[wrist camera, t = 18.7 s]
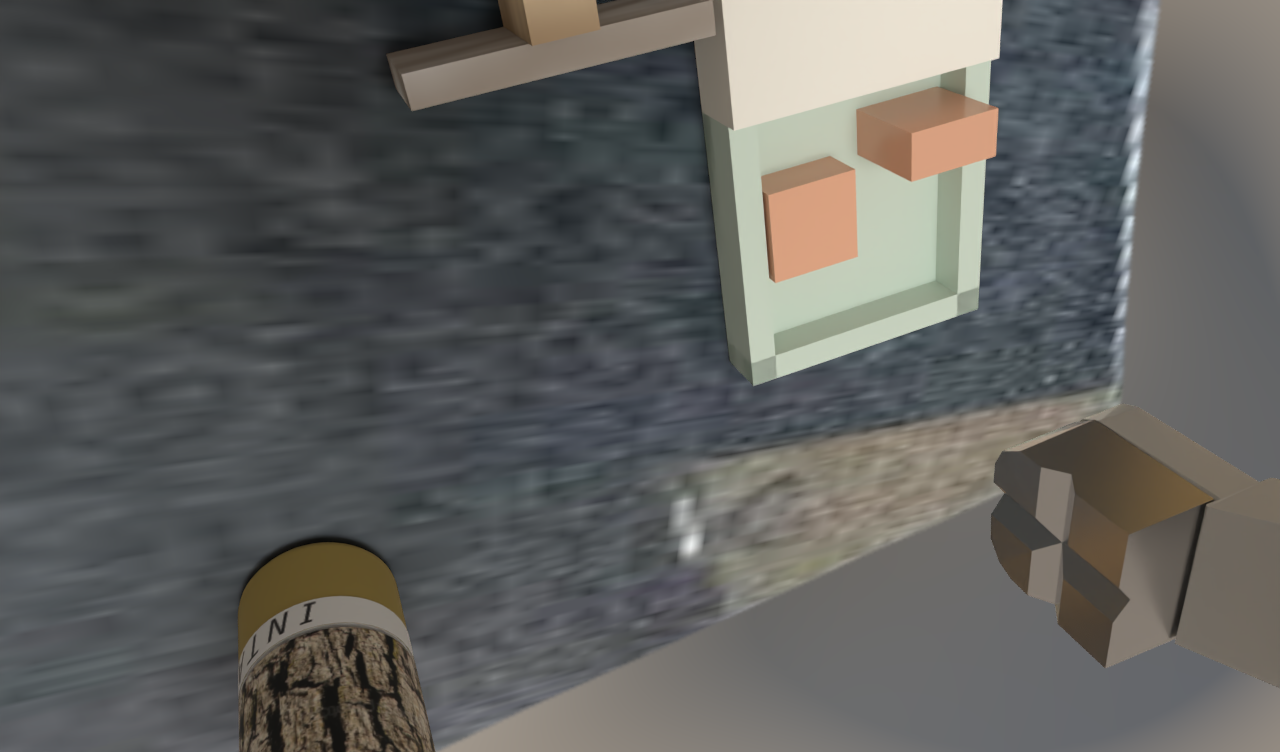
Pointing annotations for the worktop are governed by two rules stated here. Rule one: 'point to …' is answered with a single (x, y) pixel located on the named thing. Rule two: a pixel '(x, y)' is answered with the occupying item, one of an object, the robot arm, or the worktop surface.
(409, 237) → the worktop surface
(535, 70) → the scraper
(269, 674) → the paper tube
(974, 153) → the tile
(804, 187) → the tile
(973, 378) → the worktop surface
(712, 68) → the board
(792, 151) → the tray
